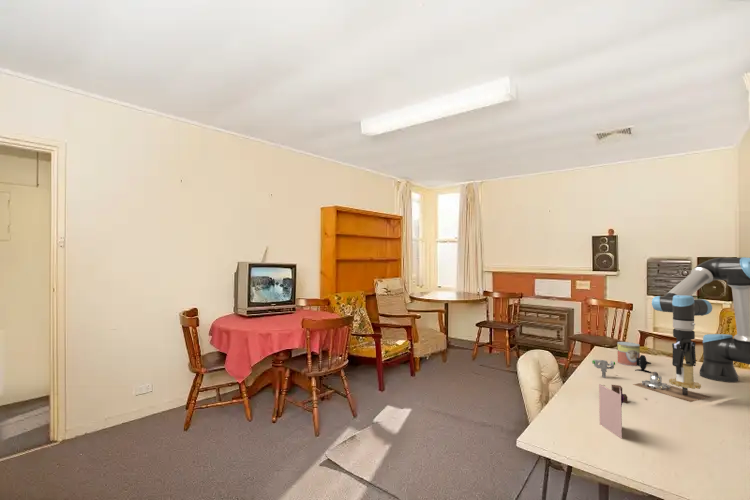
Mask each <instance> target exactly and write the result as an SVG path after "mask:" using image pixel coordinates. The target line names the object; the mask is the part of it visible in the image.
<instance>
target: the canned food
mask: <svg viewBox="0 0 750 500" xmlns="http://www.w3.org/2000/svg"><path fill="white" fill-rule="evenodd" d="M616 344H617V347H616V348H617V363H618V364H620V365H623V366H628V367H640V366H639V365H637V362H636V358H640V356H641V354H640V352H641V351H640V344H639V343H634V342H629V341H617V342H616Z"/></svg>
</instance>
